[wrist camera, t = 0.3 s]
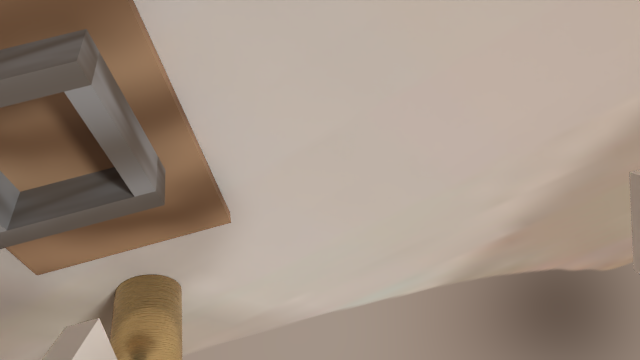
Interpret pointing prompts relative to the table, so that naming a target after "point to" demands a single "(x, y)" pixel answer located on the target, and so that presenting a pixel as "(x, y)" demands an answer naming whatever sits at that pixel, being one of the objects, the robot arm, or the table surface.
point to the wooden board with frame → (92, 137)
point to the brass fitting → (147, 319)
